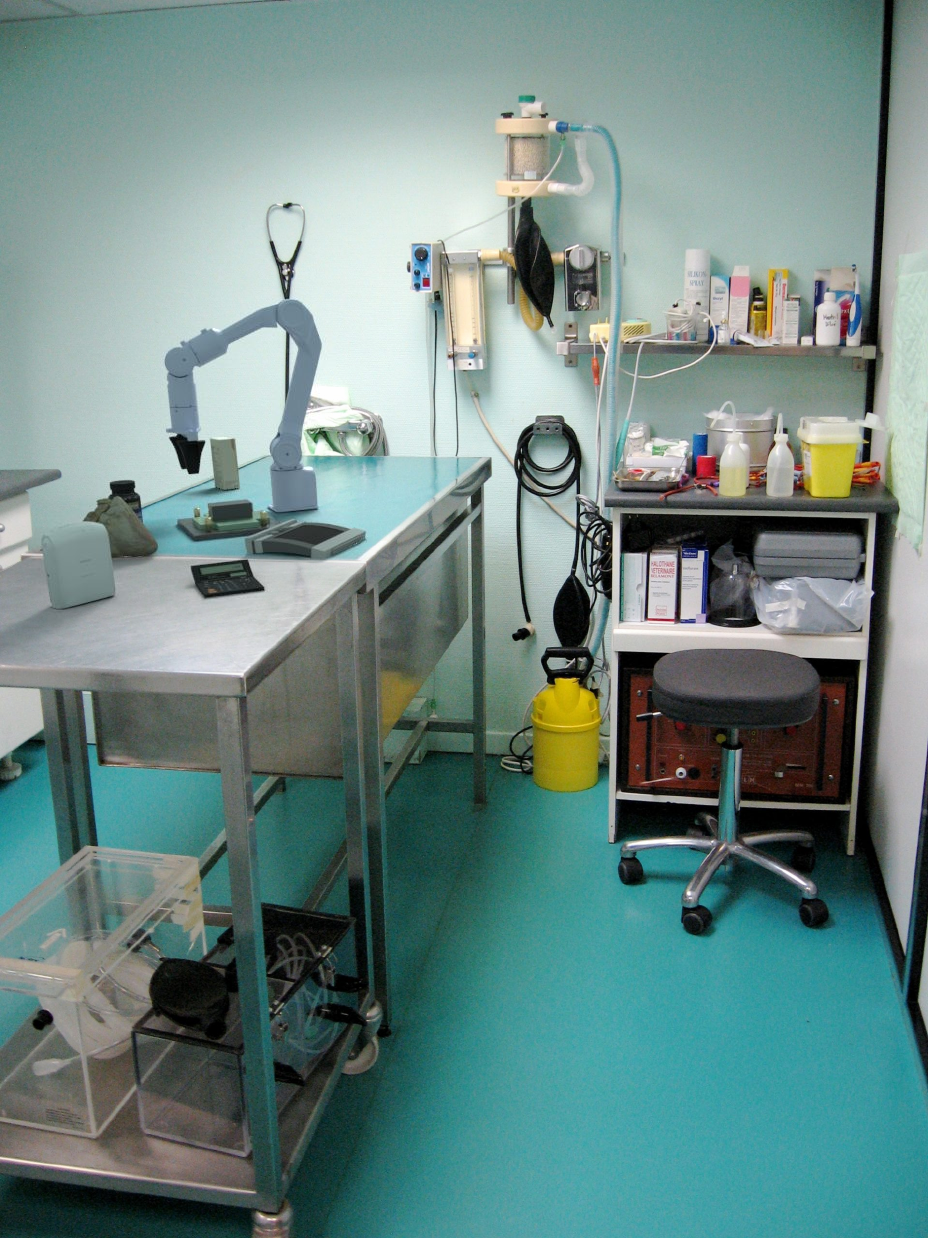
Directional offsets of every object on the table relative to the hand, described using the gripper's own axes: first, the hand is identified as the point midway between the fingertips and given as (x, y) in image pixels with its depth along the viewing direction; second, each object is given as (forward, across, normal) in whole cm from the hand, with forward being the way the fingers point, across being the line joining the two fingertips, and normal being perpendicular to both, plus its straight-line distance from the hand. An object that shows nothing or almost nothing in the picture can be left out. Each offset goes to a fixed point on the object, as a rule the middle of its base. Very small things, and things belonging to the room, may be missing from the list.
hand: (190, 471), depth 225 cm
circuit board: (+8, +17, +4) cm, 19 cm away
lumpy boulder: (+10, +30, -18) cm, 36 cm away
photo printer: (+10, +60, -29) cm, 67 cm away
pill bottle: (+10, +16, -16) cm, 25 cm away
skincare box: (+10, -30, +14) cm, 34 cm away
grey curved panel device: (+10, +41, +13) cm, 44 cm away
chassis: (+9, +17, +4) cm, 20 cm away
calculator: (+10, +62, -7) cm, 63 cm away
